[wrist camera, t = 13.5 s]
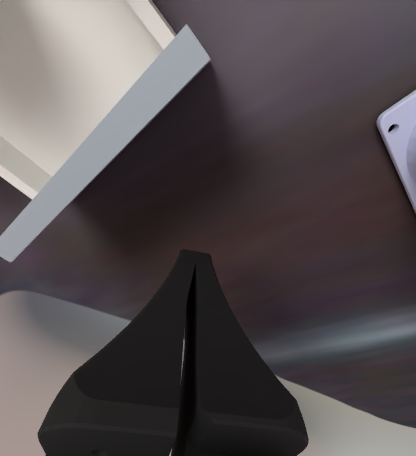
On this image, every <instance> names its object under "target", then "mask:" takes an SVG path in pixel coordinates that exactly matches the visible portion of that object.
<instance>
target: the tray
mask: <svg viewBox="0 0 416 456" xmlns="http://www.w3.org/2000/svg"><path fill="white" fill-rule="evenodd" d="M210 61H211V58H210V57H209V56H208V54H207V53H206V51H205V50H204V48H203V47H202V45H201V44H200V43H199V41H198V40H197V38H196V37H195V35H194V34H193V32H192V31H191V30H190V28H189V27H188V25H187V24H186V25H185V26H184V27H183V28H182V30H181V31H180V32H179V33H178V34H177V35H176V33H175V32H174V31H173V29H172V28H171V26H170V25H169V24H168V22H167V21H166V19H165V18H164V17H163V15H162V14H161V13H160V11H159V10H158V8H157V7H156V6H155V4H154V3H153V1H152V0H0V176H1V177H2V178H3V179H5V180H6V181H8V182H9V183H10V184H12V185H13V186H14V187H16V188H17V189H19V190H20V191H21V192H23V193H24V194H25V195H27V196H28V197H30V198H31V199H32V201H31V202H30V203H29V204H28V205H27V206H26V208H25V209H24V210H23V211H22V212H21V213H20V214H19V216H18V217H17V218H16V219H15V220H14V221H13V222H12V224H11V225H10V226H9V227H8V228H7V229H6V230H5V232H4V233H3V234H2V235H1V236H0V257H2V258H4V259H6V260H7V261H9V262H12V261H13V260H14V259H15V258H16V257H17V256H18V255H19V254H20V253H21V252H22V251H23V250H24V249H25V248H26V247H27V246H28V245H29V244H30V243H31V242H32V241H33V240H34V239H35V238H36V237H37V236H38V235H39V234H40V233H41V232H42V231H43V230H44V229H45V228H46V227H47V226H48V225H49V224H50V223H51V222H52V221H53V220H54V219H55V218H56V217H57V216H58V215H59V214H60V213H61V212H62V211H63V210H64V209H65V208H66V207H67V206H68V205H69V204H70V203H71V202H72V201H73V200H74V199H75V198H76V197H77V196H78V195H79V194H80V193H81V192H82V191H83V190H84V189H85V188H86V187H87V186H88V185H89V184H90V183H91V182H92V181H93V180H94V179H95V178H96V177H97V176H98V175H99V174H100V173H101V172H102V171H103V170H104V169H105V168H106V167H107V166H108V165H109V164H110V163H111V162H112V161H113V160H114V159H115V158H116V157H117V156H118V155H119V153H120V152H121V151H122V150H123V149H124V148H125V147H126V146H127V145H128V144H129V143H130V142H131V141H132V140H133V139H134V138H135V137H136V136H137V135H138V134H139V133H140V132H141V131H142V130H143V129H144V128H145V127H146V126H147V125H148V124H149V123H150V122H151V121H152V120H153V119H154V118H155V117H156V116H157V115H158V114H159V113H160V112H161V111H162V110H163V109H164V108H165V107H166V106H167V105H168V104H169V103H170V102H171V101H172V100H173V99H174V98H175V97H176V96H177V95H178V94H179V93H180V92H181V91H182V90H183V89H184V88H185V86H186V85H187V84H188V83H189V82H190V81H191V80H192V79H193V78H194V77H195V76H196V75H197V74H198V73H199V72H200V71H201V70H202V69H203V68H204V67H205V66H206V65H207V64H208V63H209V62H210Z"/></svg>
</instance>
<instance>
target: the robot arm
mask: <svg viewBox="0 0 416 456" xmlns="http://www.w3.org/2000/svg"><path fill="white" fill-rule="evenodd" d="M393 124H394V128H393V130H392V131H390V132H388V129H389V127H390V126H391V125H393ZM377 127H378V130H379V132H380V134H381V136H382V139H383V141H384V143H385V145H386V148H387V150H388V152H389V154H390V157H391V159H392V161H393V164H394V166H395V168H396V170H397V173H398V175H399V177H400V179H401V182H402V184H403V186H404V188H405V191H406V193H407V195H408V197H409V200H410V202H411V204H412V207H413V209H414V211H415V213H416V90H415V91H413V92H412V93H411V94H409V95H408V96H406V97H405V98H403V99H402V100H400V101H399V102H397V103H396V104H395V105H393V106H392V107H390V108H389V109H387V110H386V111H384V112H383V113H382V114H381V115H380V116H379V117H378V119H377ZM185 315H186V320H185ZM184 326H185V349H184V361H183V369H182V377H181V366H182V351H183V338H184ZM180 383H181V385H180ZM38 439H39V442H40V444H41V446H42V447H43V449H44V451H45V453H46V456H169V454H170V452H171V449H172V453H171V456H297V455H298V454H299V453H301V452H302V451H303V450H304V449H305V448H306V447H307V445H308V435H307V431H306V427H305V424H304V420H303V417H302V414H301V412H300V409H299V406H298V403H297V401H296V399H295V398H294V397H293V396H292V395H291V394H290V392H289V391H288V390H287V389H286V388H285V387H284V386H283V384H282V383H281V382H280V381H279V380H278V379H277V377H276V376H275V375H274V374H273V372H272V371H271V370H270V369H269V367H268V366H267V365H266V364H265V362H264V361H263V360H262V358H261V357H260V355H259V354H258V352H257V351H256V350H255V348H254V347H253V345H252V344H251V343H250V341H249V340H248V338H247V337H246V335H245V333H244V332H243V330H242V329H241V327H240V325H239V323H238V322H237V320H236V318H235V316H234V315H233V313H232V311H231V309H230V307H229V305H228V303H227V301H226V298H225V296H224V294H223V292H222V289H221V287H220V284H219V282H218V279H217V276H216V273H215V270H214V267H213V264H212V260H211V256H210V255H209V254H207V253H202V252H196V251H190V250H184V249H183V250H181V251H180V254H179V256H178V259H177V261H176V263H175V265H174V267H173V269H172V270H171V272H170V274H169V275H168V277H167V278H166V280H165V281H164V283H163V284H162V286H161V287H160V288H159V290H158V291H157V292H156V294H155V295H154V296H153V298H152V299H151V300H150V301H149V303H148V304H147V305H146V306H145V307H144V308H143V310H142V311H141V312H140V313H139V314H138V315H137V316H136V317H135V318H134V319H133V320H132V321H131V322H130V324H129V325H128V326H127V327H126V328H125V329H124V330H122V331H121V332H120V333H119V334H118V335H117V336H116V337H115V338H114V339H113V340H112V341H110V342H109V343H108V344H107V345H106V346H105V347H104V348H103V349H102V350H100V351H99V352H98V353H97V354H96V355H94V356H93V357H92V358H91V359H89V360H88V361H87V362H86V363H84V364H83V365H82V366H81V367H79V368H78V369H77V370H76V371H75V372H73V374H72V375H71V376H70V378H69V379H68V380H67V382H66V383H65V384H64V386H63V387H62V389H61V390H60V392H59V393H58V395H57V396H56V398H55V400H54V401H53V403H52V405H51V407H50V408H49V411H48V412H47V415H46V417H45V419H44V421H43V423H42V425H41V427H40V429H39V432H38Z"/></svg>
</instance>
